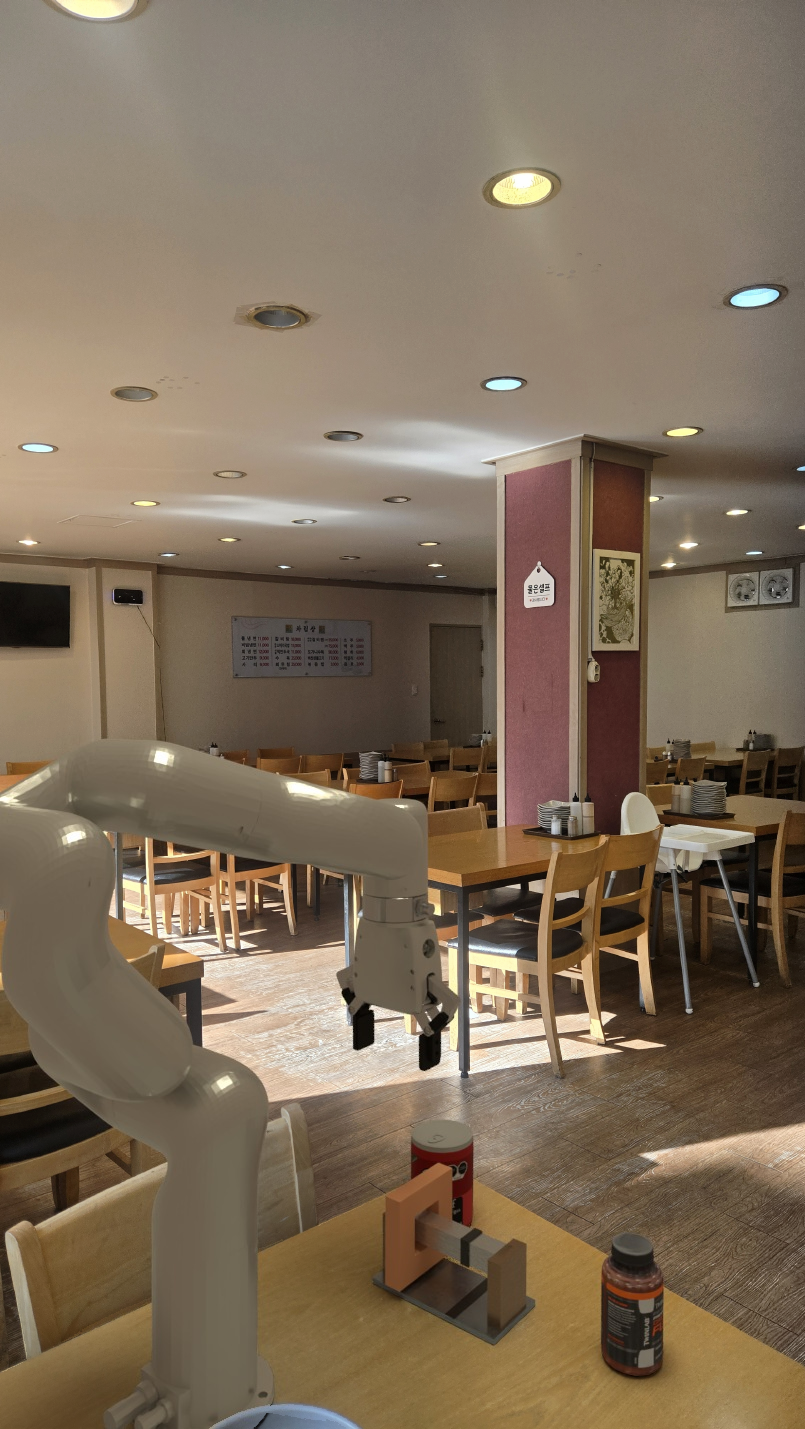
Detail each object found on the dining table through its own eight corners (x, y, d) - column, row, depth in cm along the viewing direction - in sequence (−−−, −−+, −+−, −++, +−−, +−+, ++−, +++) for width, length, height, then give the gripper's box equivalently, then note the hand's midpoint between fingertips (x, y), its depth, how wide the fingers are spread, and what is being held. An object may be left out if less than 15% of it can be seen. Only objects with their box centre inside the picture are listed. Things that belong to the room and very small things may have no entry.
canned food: (401, 1230, 113) (401, 1140, 113) (424, 1198, 121) (425, 1114, 121) (460, 1244, 110) (460, 1152, 110) (481, 1211, 118) (481, 1124, 118)
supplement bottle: (665, 1384, 88) (666, 1264, 88) (601, 1374, 89) (601, 1256, 89) (661, 1341, 94) (661, 1229, 94) (600, 1333, 95) (601, 1223, 95)
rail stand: (372, 1282, 103) (372, 1216, 103) (416, 1250, 109) (417, 1187, 109) (494, 1345, 93) (494, 1271, 93) (535, 1305, 99) (535, 1236, 99)
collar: (385, 1284, 101) (385, 1196, 101) (438, 1244, 108) (438, 1162, 108) (399, 1291, 100) (399, 1202, 100) (452, 1251, 107) (452, 1167, 107)
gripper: (476, 912, 104) (477, 1064, 104) (359, 892, 115) (360, 1031, 115) (436, 925, 98) (437, 1086, 98) (317, 903, 109) (318, 1049, 109)
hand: (395, 1056), depth 106 cm, fingers open, 9 cm apart
